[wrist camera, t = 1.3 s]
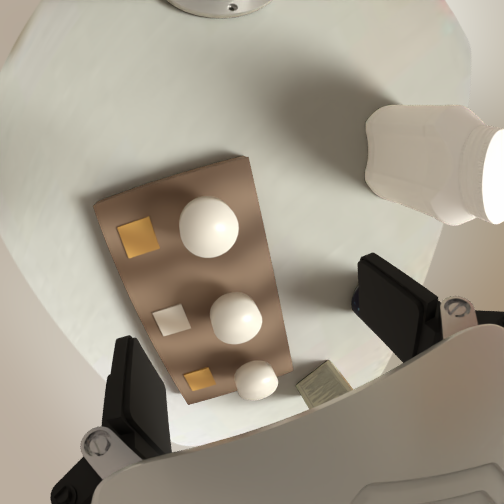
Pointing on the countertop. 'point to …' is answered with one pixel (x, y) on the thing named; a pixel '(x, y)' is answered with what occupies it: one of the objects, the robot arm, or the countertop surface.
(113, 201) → the button board
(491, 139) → the jar
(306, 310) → the countertop surface
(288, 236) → the countertop surface
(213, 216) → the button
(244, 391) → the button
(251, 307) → the button middle
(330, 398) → the skincare box
